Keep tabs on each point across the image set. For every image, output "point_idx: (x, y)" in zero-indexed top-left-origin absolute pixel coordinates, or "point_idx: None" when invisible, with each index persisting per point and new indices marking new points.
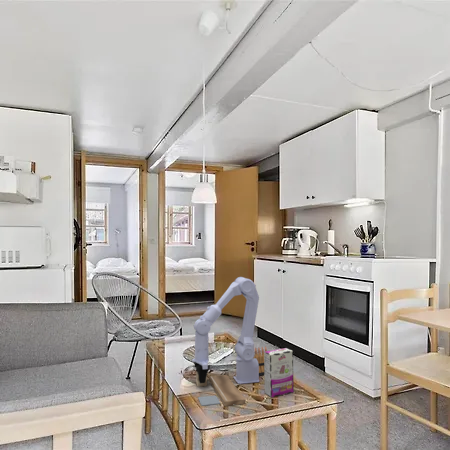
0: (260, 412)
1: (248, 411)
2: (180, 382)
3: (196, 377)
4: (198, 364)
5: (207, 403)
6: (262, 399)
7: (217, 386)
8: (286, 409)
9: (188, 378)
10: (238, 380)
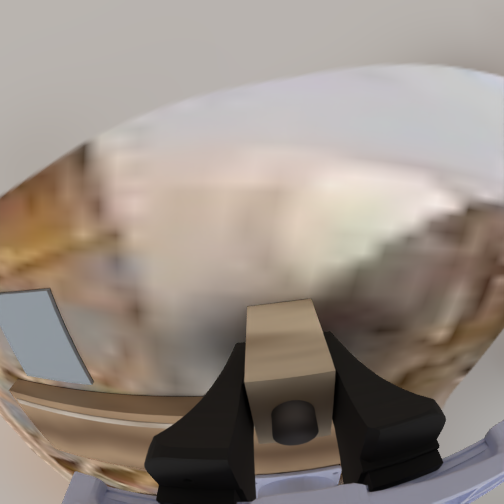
0: (30, 438)
1: (21, 420)
2: (374, 158)
3: (304, 337)
4: (358, 454)
5: (5, 325)
6: (110, 477)
7: (158, 425)
8: (70, 479)
9: (439, 239)
10: (277, 482)
